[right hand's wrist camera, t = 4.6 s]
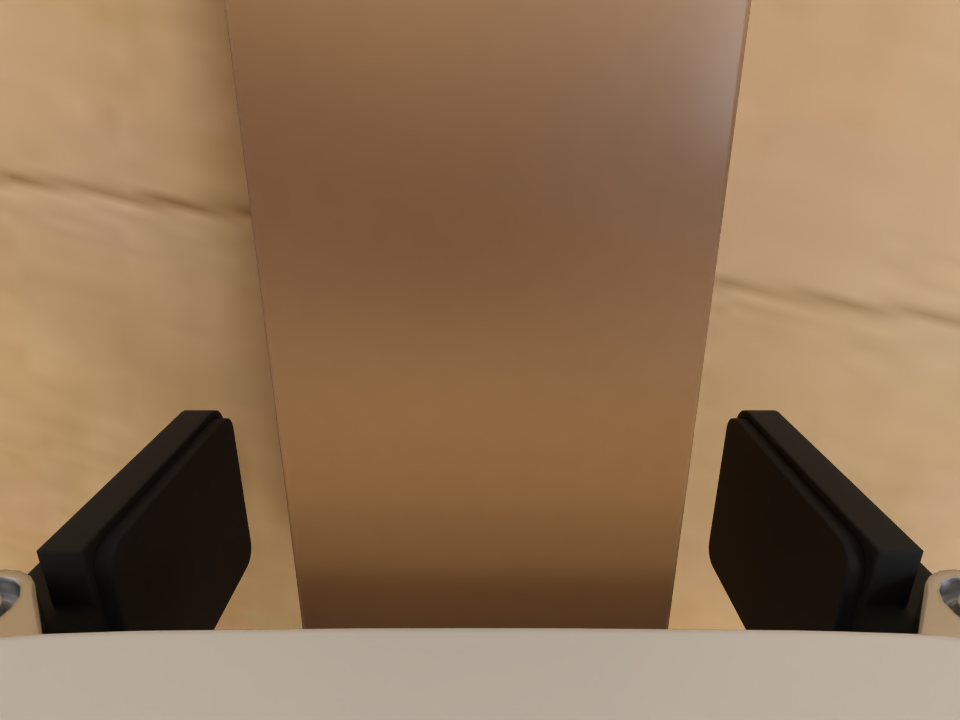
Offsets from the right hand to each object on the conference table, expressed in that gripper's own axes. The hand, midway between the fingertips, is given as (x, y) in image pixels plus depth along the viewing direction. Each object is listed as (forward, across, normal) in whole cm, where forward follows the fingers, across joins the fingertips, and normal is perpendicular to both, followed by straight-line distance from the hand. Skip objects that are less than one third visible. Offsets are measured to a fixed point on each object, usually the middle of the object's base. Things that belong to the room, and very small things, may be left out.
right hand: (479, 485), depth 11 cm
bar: (+4, 0, -29) cm, 29 cm away
